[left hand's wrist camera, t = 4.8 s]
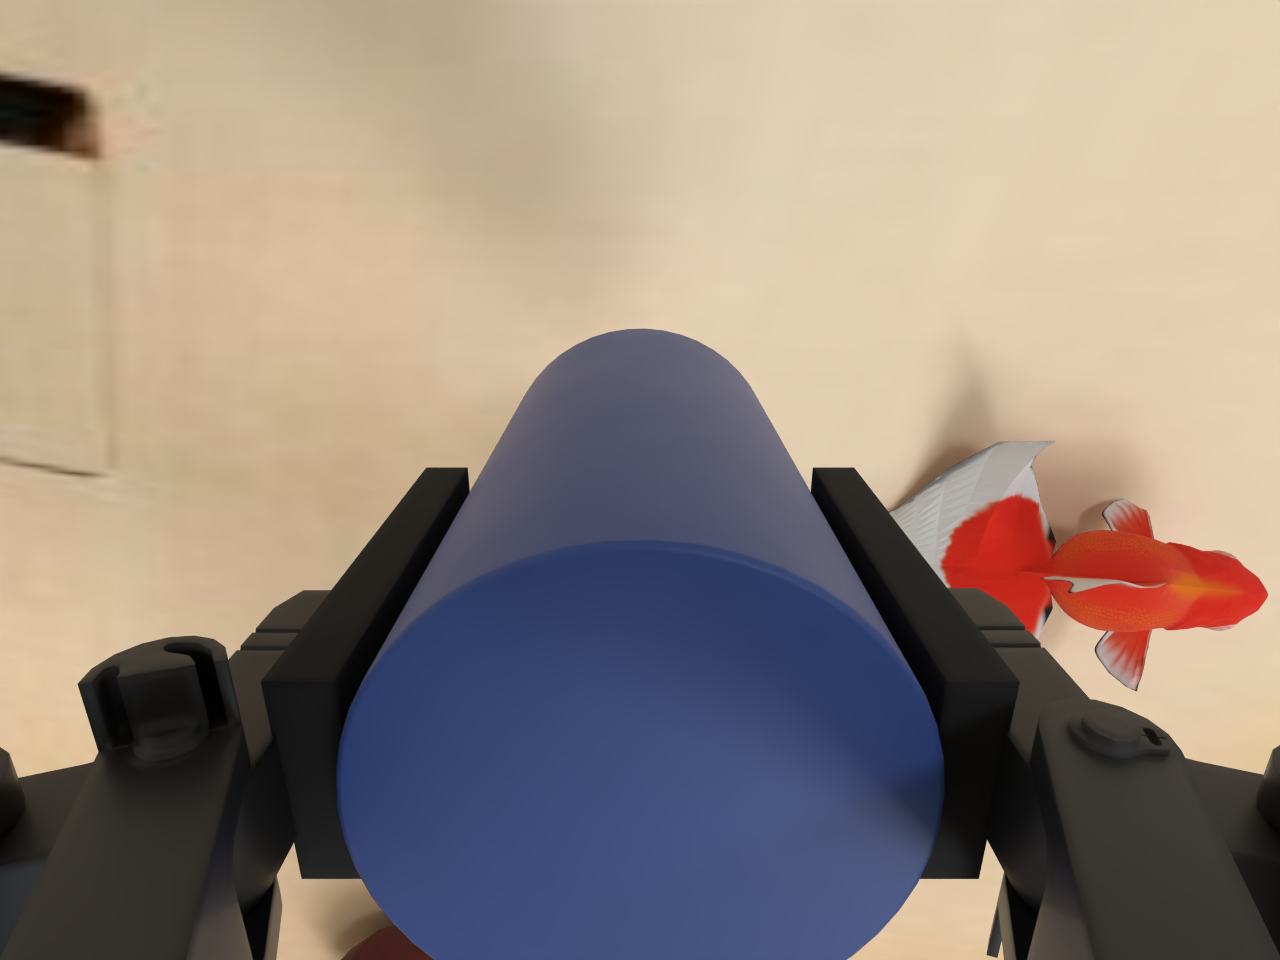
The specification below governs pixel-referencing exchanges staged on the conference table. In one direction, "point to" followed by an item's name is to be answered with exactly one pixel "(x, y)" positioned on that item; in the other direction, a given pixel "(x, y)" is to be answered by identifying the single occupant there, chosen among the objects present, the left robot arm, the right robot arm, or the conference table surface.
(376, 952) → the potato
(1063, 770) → the left robot arm
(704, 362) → the can
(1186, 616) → the fish
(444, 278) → the conference table surface
